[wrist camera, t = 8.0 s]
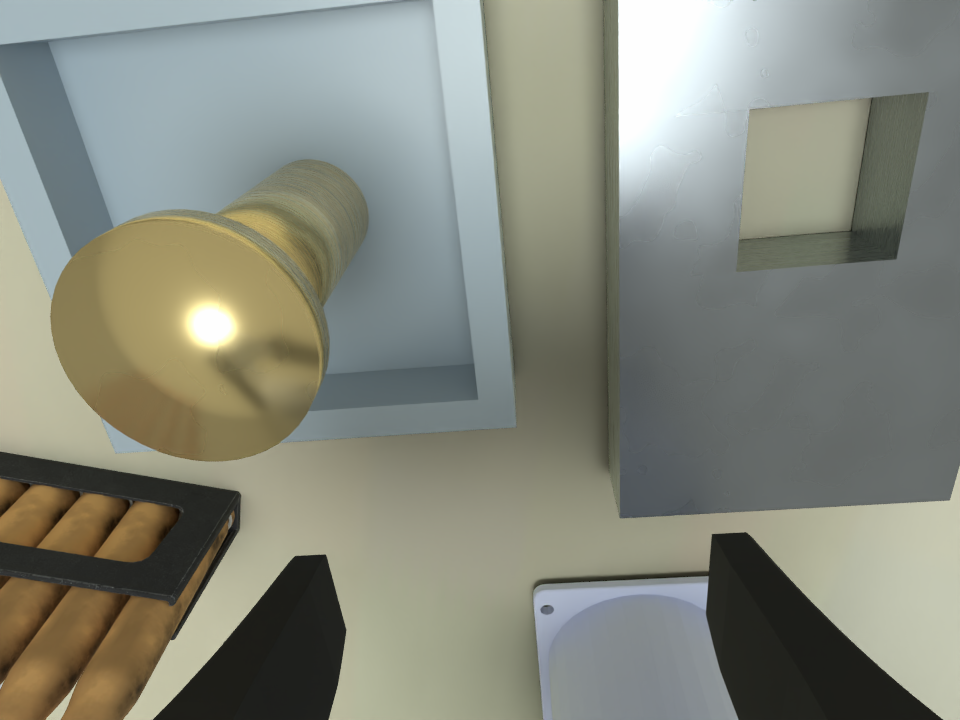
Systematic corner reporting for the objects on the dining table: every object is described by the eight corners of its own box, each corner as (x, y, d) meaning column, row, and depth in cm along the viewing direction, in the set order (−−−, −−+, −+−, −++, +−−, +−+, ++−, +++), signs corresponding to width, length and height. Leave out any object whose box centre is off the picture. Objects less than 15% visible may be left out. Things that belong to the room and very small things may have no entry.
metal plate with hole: (906, 452, 23) (949, 500, 21) (608, 470, 23) (619, 518, 21) (1095, -356, 14) (1210, -428, 11) (599, -287, 14) (617, -341, 12)
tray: (514, 376, 22) (516, 427, 19) (161, 401, 23) (115, 453, 20) (478, -53, 16) (474, -65, 14) (14, 2, 17) (-75, 0, 15)
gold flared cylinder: (405, 281, 20) (342, 453, 12) (258, 293, 20) (106, 468, 12) (379, 124, 18) (284, 209, 10) (217, 140, 18) (5, 236, 10)
